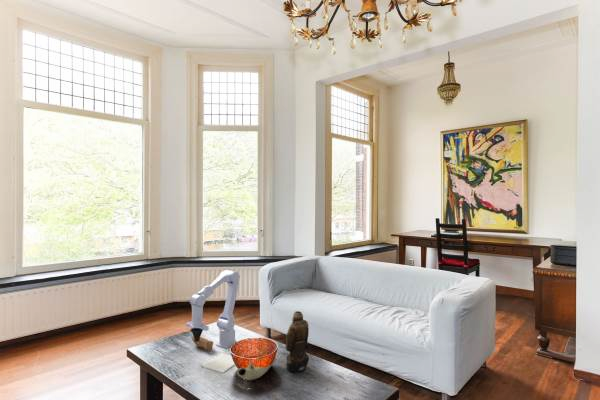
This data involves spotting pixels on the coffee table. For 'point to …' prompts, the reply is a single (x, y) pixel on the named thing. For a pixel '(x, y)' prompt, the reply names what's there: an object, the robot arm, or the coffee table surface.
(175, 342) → the coffee table surface
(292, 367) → the sculpture
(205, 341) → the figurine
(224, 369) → the felt mat
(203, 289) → the robot arm
